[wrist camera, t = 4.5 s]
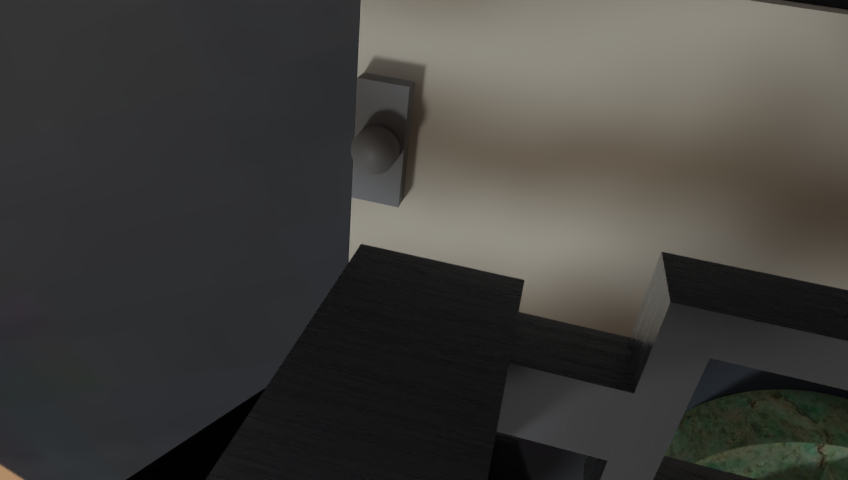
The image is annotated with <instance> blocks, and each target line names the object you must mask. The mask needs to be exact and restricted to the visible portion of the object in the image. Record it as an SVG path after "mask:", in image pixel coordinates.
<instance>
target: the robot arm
mask: <svg viewBox="0 0 848 480" xmlns="http://www.w3.org/2000/svg"><path fill="white" fill-rule="evenodd" d="M265 389H266V388H264V389H263V390H261V391H260V392H258V393H257V394H255V395H254V396H252V397H251V398H249V399H248V400H246V401H245V402H243V403H242V404H240V405H239V406H237V407H236V408H234V409H233V410H231V411H230V412H228V413H227V414H225V415H224V416H222V417H220V418H219V419H217V420H216V421H214V422H213V423H211V424H210V425H208V426H207V427H205V428H204V429H202V430H201V431H199V432H198V433H196V434H195V435H193V436H192V437H190V438H189V439H187V440H186V441H184V442H183V443H181V444H180V445H178V446H176V447H175V448H173V449H172V450H170V451H169V452H167V453H166V454H164V455H163V456H161V457H160V458H158V459H157V460H155V461H154V462H152V463H151V464H149V465H148V466H146V467H145V468H143V469H142V470H140V471H139V472H137V473H136V474H134V475H132V476H131V477H129V478H128V479H126V480H206V478H207V477H208V475H209V473H210V472H211V470H212V469H213V467H214V466H215V464H216V463H217V461H218V460H219V458H220V457H221V455H222V454H223V452H224V451H225V449H226V448H227V446H228V445H229V443H230V442H231V440H232V439H233V437H234V436H235V434H236V433H237V431H238V430H239V428H240V427H241V425H242V424H243V422H244V420H245V419H246V417H247V416H248V414H249V413H250V411H251V410H252V408H253V407H254V405H255V404H256V402H257V401H258V399H259V398H260V396H261V395H262V393H263V392H264V390H265ZM488 480H531V478H530V474H529V471H528V468H527V464H526V461H525V458H524V454H523V451H522V448H521V445H520V443H519V442H518V441H517V440H515V439H512V438H508V437H504V436H500V435H496V437H495V442H494V448H493V453H492V458H491V464H490V469H489V475H488Z"/></svg>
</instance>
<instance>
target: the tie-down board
mask: <svg viewBox="0 0 848 480" xmlns="http://www.w3.org/2000/svg"><path fill="white" fill-rule="evenodd" d="M351 155H352V158H353V181H352V203H351V225H350V246H349V261H350V260H351V258H352V257H353V255H354V254H355V252H356V251H357V249H358V248H359V246H360V245H361V244H364V245H369V246H373V247H378V248H382V249H387V250H391V251H396V252H400V253H405V254H409V255H414V256H419V257H423V258H428V259H432V260H437V261H441V262H446V263H450V264H455V265H459V266H464V267H468V268H473V269H477V270H482V271H486V272H491V273H495V274H500V275H504V276H509V277H513V278H518V279H522V280H524V286H523V291H522V297H521V302H520V307H519V312H522V313H526V314H530V315H535V316H539V317H544V318H548V319H552V320H557V321H561V322H565V323H570V324H574V325H578V326H583V327H587V328H591V329H596V330H600V331H604V332H609V333H613V334H617V335H622V336H626V337H631V334H632V331H633V329H634V326H635V323H636V320H637V318H638V315H639V312H640V309H641V307H642V304H643V301H644V298H645V296H646V293H647V290H648V287H649V285H650V282H651V279H652V277H653V274H654V271H655V268H656V266H657V263H658V260H659V257H660V255H661V252H666V253H671V254H675V255H680V256H685V257H690V258H695V259H700V260H704V261H709V262H714V263H719V264H724V265H729V266H733V267H738V268H743V269H748V270H753V271H758V272H762V273H767V274H772V275H777V276H782V277H787V278H791V279H796V280H801V281H806V282H811V283H816V284H820V285H825V286H830V287H835V288H840V289H845V290H848V10H846V9H839V8H832V7H825V6H818V5H812V4H805V3H798V2H791V1H784V0H361V11H360V32H359V53H358V75H357V95H356V117H355V138H354V140H353V142H352V144H351ZM797 379H798V378H797ZM810 382H811V381H810ZM823 385H824V384H823ZM827 386H828V385H827ZM836 388H837V387H836ZM840 389H841V388H840ZM844 390H845V389H844Z"/></svg>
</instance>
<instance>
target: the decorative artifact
mask: <svg viewBox="0 0 848 480" xmlns="http://www.w3.org/2000/svg"><path fill="white" fill-rule="evenodd" d="M664 456H667V457H671V458H675V459H679V460H683V461H687V462H691V463H695V464H698V465H702V466H706V467H710V468H714V469H718V470H722V471H726V472H729V473H733V474H737V475H741V476H745V477H749V478H753V479H757V480H848V399H846V398H843V397H838V396H834V395H830V394H825V393H819V392H813V391H804V390H788V389H774V390H758V391H749V392H743V393H737V394H733V395H728V396H724V397H721V398H717V399H714V400H711V401H708V402H706V403H703V404H701V405H698V406H696V407H694V408H692V409H690V410H688V411H686V412H685V413H684V415H683V417H682V419H681V421H680V423H679V425H678V428H677V430H676V432H675V434H674V436H673V438H672V440H671V443H670V445H669V447H668V449H667V451H666V453H665V455H664Z"/></svg>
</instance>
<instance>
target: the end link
mask: <svg viewBox="0 0 848 480" xmlns="http://www.w3.org/2000/svg"><path fill="white" fill-rule="evenodd" d="M523 286H524V280H522V279H518V278H513V277H509V276H504V275H500V274H495V273H491V272H486V271H482V270H477V269H473V268H468V267H464V266H459V265H455V264H450V263H446V262H441V261H437V260H432V259H428V258H423V257H419V256H414V255H409V254H405V253H400V252H396V251H391V250H387V249H382V248H378V247H373V246H369V245H364V244H361V245H360V246H359V248H358V249H357V251H356V252H355V254H354V255H353V257H352V258H351V260H350V261H349V263H348V264H347V266H346V267H345V269H344V271H343V272H342V274H341V275H340V277H339V278H338V280H337V281H336V283H335V284H334V286H333V287H332V289H331V290H330V292H329V293H328V295H327V296H326V298H325V299H324V301H323V302H322V304H321V305H320V307H319V308H318V310H317V311H316V313H315V314H314V316H313V317H312V319H311V320H310V322H309V324H308V325H307V327H306V328H305V330H304V331H303V333H302V334H301V336H300V337H299V339H298V340H297V342H296V343H295V345H294V346H293V348H292V349H291V351H290V352H289V354H288V355H287V357H286V358H285V360H284V361H283V363H282V364H281V366H280V367H279V369H278V370H277V372H276V374H275V375H274V377H273V378H272V380H271V381H270V383H269V384H268V386H267V387H266V389H265V390H264V392H263V393H262V395H261V396H260V398H259V399H258V401H257V402H256V404H255V405H254V407H253V408H252V410H251V411H250V413H249V414H248V416H247V417H246V419H245V420H244V422H243V424H242V425H241V427H240V428H239V430H238V431H237V433H236V434H235V436H234V437H233V439H232V440H231V442H230V443H229V445H228V446H227V448H226V449H225V451H224V452H223V454H222V455H221V457H220V458H219V460H218V461H217V463H216V464H215V466H214V467H213V469H212V470H211V472H210V473H209V475H208V477H207V478H206V480H488V475H489V469H490V464H491V458H492V453H493V448H494V442H495V437H496V432H500V433H504V434H507V435H511V436H515V437H519V438H523V439H526V440H530V441H534V442H538V443H542V444H546V445H549V446H553V447H557V448H561V449H565V450H568V451H572V452H576V453H580V454H584V455H587V457H586V460H585V463H584V480H757V479H753V478H749V477H745V476H741V475H737V474H733V473H729V472H726V471H722V470H718V469H714V468H710V467H706V466H702V465H698V464H695V463H691V462H687V461H683V460H679V459H675V458H671V457H667V456H664V455H665V453H666V451H667V449H668V447H669V445H670V443H671V440H672V438H673V436H674V434H675V432H676V430H677V428H678V425H679V423H680V421H681V419H682V417H683V415H684V413H685V410H686V408H687V406H688V404H689V402H690V400H691V398H692V395H693V393H694V391H695V389H696V387H697V385H698V383H699V380H700V378H701V376H702V374H703V372H704V370H705V368H706V365H707V363H708V361H709V359H710V358H711V359H715V360H719V361H724V362H728V363H732V364H737V365H741V366H745V367H750V368H754V369H759V370H763V371H767V372H772V373H776V374H780V375H785V376H789V377H793V378H798V379H802V380H806V381H811V382H815V383H819V384H824V385H828V386H832V387H837V388H841V389H845V390H848V290H845V289H840V288H835V287H830V286H825V285H820V284H816V283H811V282H806V281H801V280H796V279H791V278H787V277H782V276H777V275H772V274H767V273H762V272H758V271H753V270H748V269H743V268H738V267H733V266H729V265H724V264H719V263H714V262H709V261H704V260H700V259H695V258H690V257H685V256H680V255H675V254H671V253H666V252H661V255H660V257H659V260H658V263H657V266H656V268H655V271H654V274H653V277H652V279H651V282H650V285H649V287H648V290H647V293H646V296H645V298H644V301H643V304H642V307H641V309H640V312H639V315H638V318H637V320H636V323H635V326H634V329H633V331H632V334H631V337H626V336H622V335H617V334H613V333H609V332H604V331H600V330H596V329H591V328H587V327H583V326H578V325H574V324H570V323H565V322H561V321H557V320H552V319H548V318H544V317H539V316H535V315H530V314H526V313H522V312H519V307H520V302H521V297H522V291H523Z"/></svg>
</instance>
